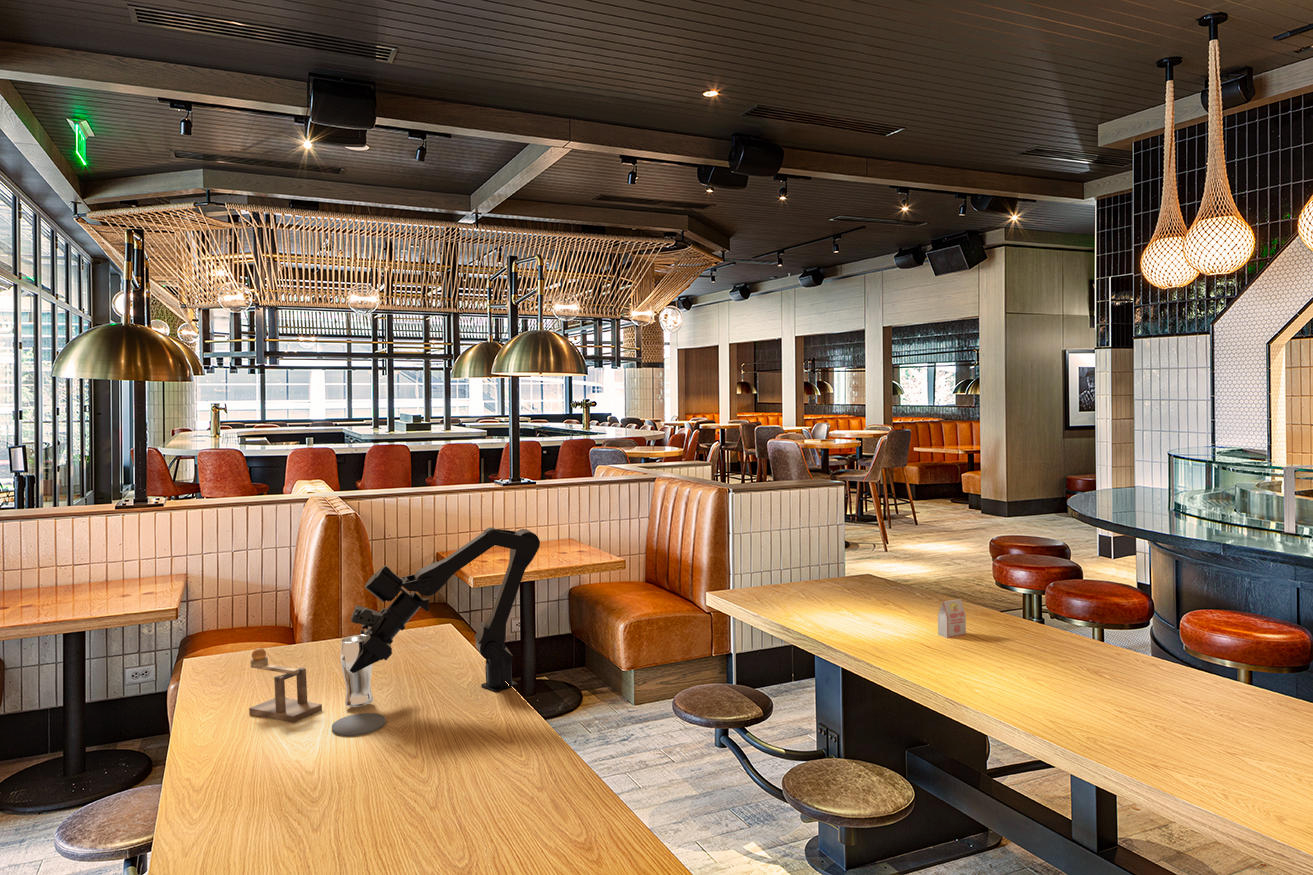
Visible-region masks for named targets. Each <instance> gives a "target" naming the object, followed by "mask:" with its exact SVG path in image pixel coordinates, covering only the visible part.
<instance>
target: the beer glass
mask: <svg viewBox="0 0 1313 875" xmlns="http://www.w3.org/2000/svg"><path fill="white" fill-rule="evenodd" d="M367 636H368V635H361V634H354V635H349V636H346V637H342V638H341V639H340V664H341V670H342V674H343V678H344V684H345V689H346V690H345V692H346V693H345V694H346V695H345V701H344V702H345V703H344V704H345V706H346V707H349V708H359V707H364V706H367V705H370V704H371V703H373V701H374V698H373V697H374V696H373V693H372V686H371V681H372V672H373V664H371V665H369V666H367V667H365V668H363V669H361V670H359V671H357V672H355V673H352V672H350V669H351V667H352V666H353V664H354V663H355V661H356V659H357V658H358V656H359V655H360V653H361V652H362V650H363V645H362V641H365V639H366V637H367Z"/></svg>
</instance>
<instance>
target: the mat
mask: <svg viewBox="0 0 1313 875" xmlns="http://www.w3.org/2000/svg"><path fill="white" fill-rule="evenodd" d="M385 725H386V717H385V715H383V714H380V713H376V712H375V713H374V712H362V713H355V714H350V715H346V716H344V717H341V718H339V719H337V720H336V721H334V722H333V723H332V725H331V732H332V734H334V735H337V736H341V737H342V736H343V737H356V736H357V737H358V736H362V735H367V734H371V733H374V732H376V731H378V730H380V729H382V728H383V727H384V726H385Z"/></svg>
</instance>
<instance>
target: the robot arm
mask: <svg viewBox="0 0 1313 875" xmlns="http://www.w3.org/2000/svg"><path fill="white" fill-rule="evenodd" d="M495 546H496V547H502V548H506V549H509V558H508V559H509V560H508V561H509V562H508V565H507V568H506V571H505V574H504V576H503V579H502V582H501V585H500V588H499V591H498V593H497V596H496V599H495V602H494V606H493V608H492V609H491V614H490V616H489V618H488V619H487V620H486V622H482V621H479V623H478V629H477V632H476V633H475V635H473V636H474V639H475V646H476V648H477V651H479V654H480V655H481V656H482V658H484V659H485V682H484V683H481V685H480V686H481V687H483V688H485V689H488V690H489V691H493V692H500V691H502V690H506V689H509V688H512V687H515V686H517V685H518V682H516V681H513V679H512V674H513V673H512V662H513V659H514V656H513V654H512V653H511V652H510V650H509V649H508V647H507V646H506V645H505V642H506V635H507V634H506V633H507V624H508V620H509V617H510V614H511V612H512V609H513V606H514V603H515V601H516V597H517V595H518V591H519V588H520V585H521V582H522V579H523V578H524V574H525V571H526V570H527V568H528V566H529V565H531V563H532V561H533V560H534V558H535V556H536V555H537V553H538V551H539V549H540V546H541V542H540V538H539V537H538V535H537V534H536V533H534V532H533V531H531V530H529V529H525V528H522V529H519V530H516V531H515V530H510V529H509V530H508V529H499V528H495V527H487V528H486V529H485V530H484V531H482V532H481V533H480V534H479V535H477V536H476V537H474V538H473V539H471V540H470V541H468V542H467V543H465V544H464V545H463V546H461V547H460V548H458V549H457V550H456V551H454V552H452V553H451V554H450V555H448V556H446V557H445V558H443V559H441V560H439V561H436V562H433V563H431V564H429V565H425V566H424V567H422V568H420V569H419V570H417V571H416V572H415V573H414V574H410V575H405V576H402V577H400V576H399V575H397V574H396V573H395V572H394V571H392V569H391V568H390V567H389V566H387V565H385V564H384V566H382V568H380V569H378V570H377V571H376V572H375V573H373V574H372V575H371V577H370V578H369V579H368V580H367V581H366V583H365V584H364V587H363V588H364V589H366V590H367V591H368V592H369V593H371V594H372V595H373V596H374V597H376V598H377V599H379V600H380V601H381V602H382V603H384V602H385V603H386V601H387V602H391V603H390V604H389V605H388V607H387V608H386V607H385V608H381V610H380V611H376V610H374V609H371V608H368V607H366V606H362V605H355V606H354V610H353V611H352V613H351V617H350V622H352V623H353V624H356V625H357V624H360V625H361V628H362V629H361V628H360V635H368V636H367V637H366V639H365V641H362V645H363V650H362V652H361V653H360V655H359V656H358V658H357V659H356V661H355V663H354V664H353V666H352V667H351V669H350V672H352V673H355V672H357V671H359V670H361V669H363V668H365V667H367V666H369V665H371V664H372V665H373V664H376V663H378V662H380V661H383V660H384V661H387V660H388V659H389V658H390V656H392V654H393V650H392V645H391V644H392V643H393V642H394V639H395V637H396V636H397V634H398V633H399V632H400V631H403V630H405V628H406V625H407V623H408V622H409V621H410V619H412V617H413V616H414V615H415V614H416V613H417V612H418V611H419V609H420V608H421V609H423V610H425V611H426V612H429V611H430V606H429V604H430V599H429V597H431V596H433V595H436V593H438V591H440V590H441V589H442V588H443V587H444V586H445V585H446V584H447V582H448V581H449V580H450V579H451V578H452V577H453V575H455V573H457V572H459V571H460V570H461V569H463V568H465V566H467V565H468V564H470V563H471V562H473V561H474V560H475V559H477V558H479V557H480V556H481V555H483V554H484V553H486V552H487V551H489V550H490V549H491V548H493V547H495ZM410 592H411V593H410ZM422 596H423V597H424V596H425V598H423V597H422ZM505 681H506V682H507V683H508V684H509V686H510V687H509V686H508V684H507V683H506V682H505Z"/></svg>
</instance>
